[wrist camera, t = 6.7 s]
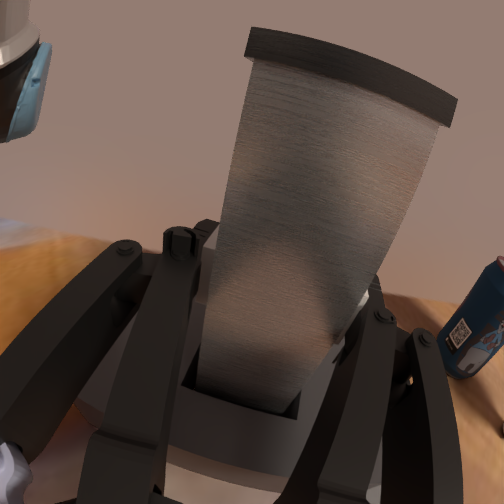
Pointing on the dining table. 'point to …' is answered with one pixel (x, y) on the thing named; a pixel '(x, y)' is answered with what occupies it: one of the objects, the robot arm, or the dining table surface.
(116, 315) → the robot arm
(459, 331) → the soda can
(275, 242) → the plug
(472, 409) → the dining table surface
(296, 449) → the dark gray block
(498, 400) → the dining table surface
